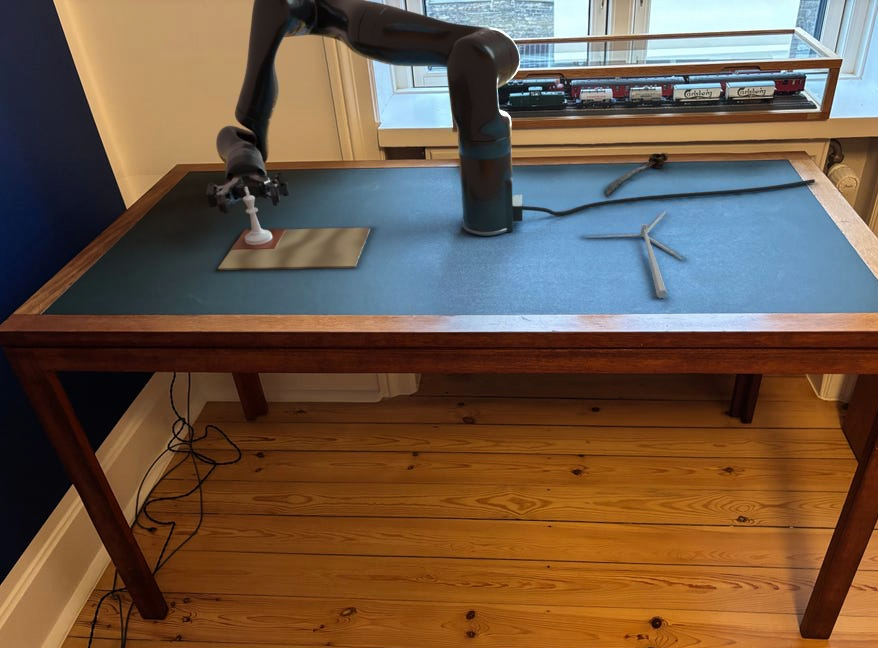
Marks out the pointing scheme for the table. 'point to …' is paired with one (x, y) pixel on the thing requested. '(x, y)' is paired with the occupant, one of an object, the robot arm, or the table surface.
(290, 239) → the corner board
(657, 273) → the wind turbine model
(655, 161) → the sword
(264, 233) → the chess piece
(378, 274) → the table surface
